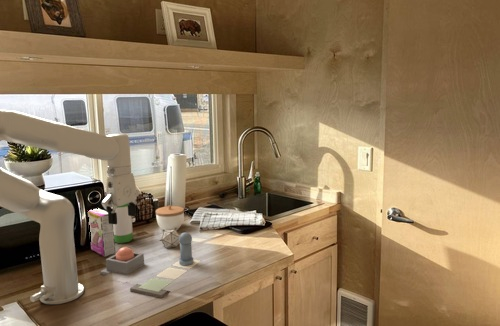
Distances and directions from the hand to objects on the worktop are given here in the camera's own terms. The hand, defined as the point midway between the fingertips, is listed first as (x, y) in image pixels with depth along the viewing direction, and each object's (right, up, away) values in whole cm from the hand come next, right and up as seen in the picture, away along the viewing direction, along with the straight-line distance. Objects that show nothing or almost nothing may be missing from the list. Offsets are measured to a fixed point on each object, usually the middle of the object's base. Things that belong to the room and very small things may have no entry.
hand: (122, 219), depth 142 cm
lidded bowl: (+8, -11, +46) cm, 48 cm away
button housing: (0, -18, +3) cm, 18 cm away
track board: (+17, -19, -2) cm, 26 cm away
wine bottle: (-10, -13, +32) cm, 36 cm away
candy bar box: (-14, -16, +20) cm, 29 cm away
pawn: (+21, -16, +6) cm, 27 cm away
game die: (+12, -15, +23) cm, 30 cm away
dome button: (0, -15, +3) cm, 16 cm away
